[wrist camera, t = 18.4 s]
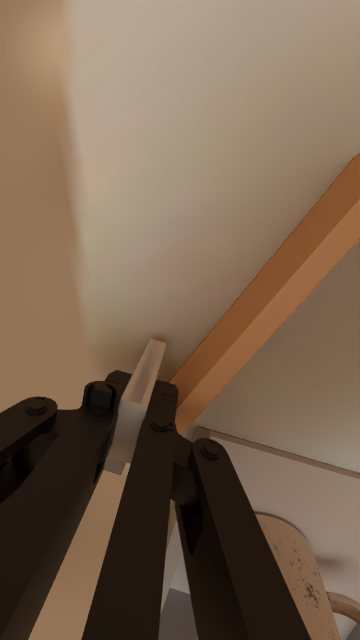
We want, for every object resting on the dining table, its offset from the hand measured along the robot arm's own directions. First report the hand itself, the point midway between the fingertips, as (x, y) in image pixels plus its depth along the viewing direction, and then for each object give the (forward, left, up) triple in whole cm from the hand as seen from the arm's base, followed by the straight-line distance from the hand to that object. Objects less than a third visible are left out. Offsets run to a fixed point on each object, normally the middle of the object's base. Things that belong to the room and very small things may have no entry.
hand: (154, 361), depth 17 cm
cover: (-5, -5, -2) cm, 7 cm away
